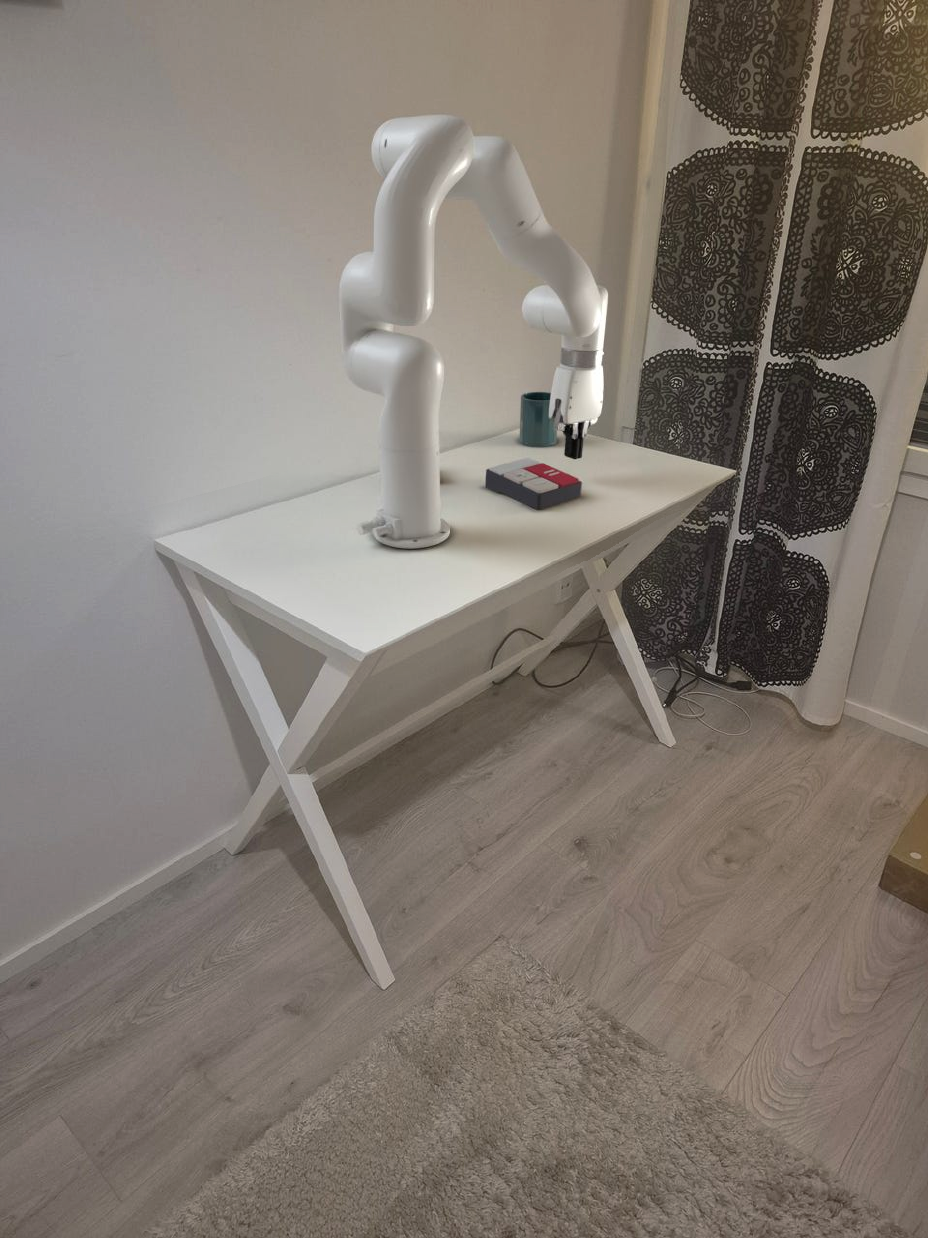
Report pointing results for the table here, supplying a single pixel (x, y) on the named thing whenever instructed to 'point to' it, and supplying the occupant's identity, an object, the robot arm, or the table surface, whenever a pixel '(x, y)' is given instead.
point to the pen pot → (536, 420)
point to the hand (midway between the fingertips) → (572, 456)
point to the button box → (533, 483)
